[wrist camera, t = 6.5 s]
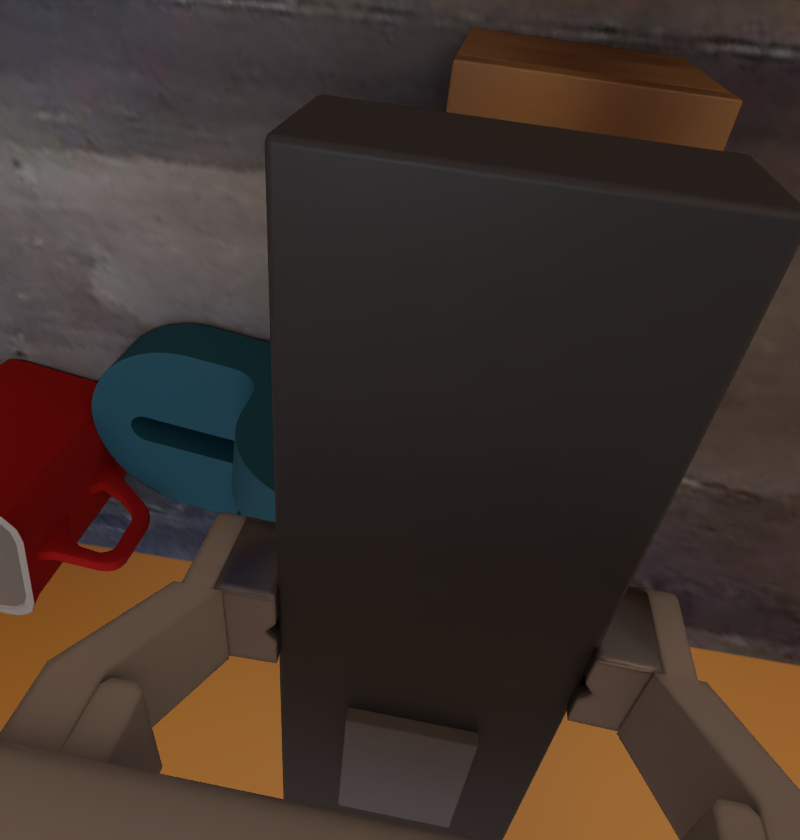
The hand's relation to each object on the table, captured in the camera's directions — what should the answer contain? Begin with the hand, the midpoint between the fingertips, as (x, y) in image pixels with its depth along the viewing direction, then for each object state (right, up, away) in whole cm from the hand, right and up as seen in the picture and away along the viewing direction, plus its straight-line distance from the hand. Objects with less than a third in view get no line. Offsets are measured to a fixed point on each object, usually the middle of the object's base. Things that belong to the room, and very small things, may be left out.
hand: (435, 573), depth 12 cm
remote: (0, 0, 0) cm, 0 cm away
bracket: (-8, +3, +26) cm, 27 cm away
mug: (-19, +2, +28) cm, 34 cm away
